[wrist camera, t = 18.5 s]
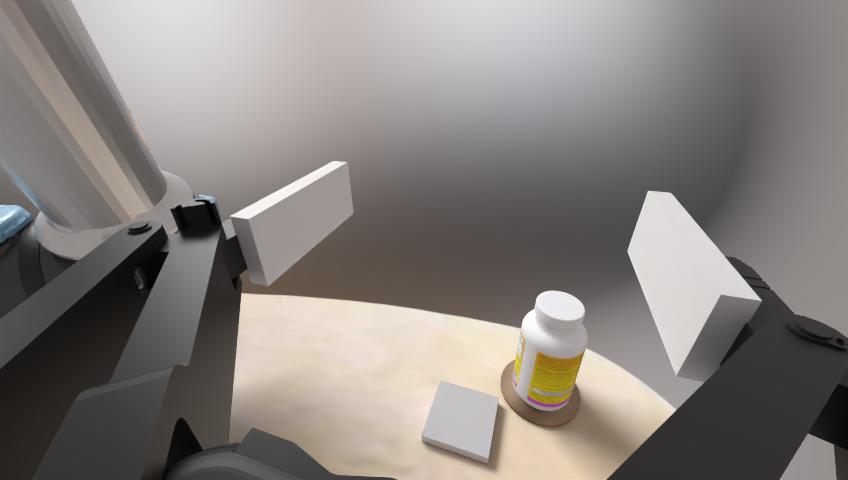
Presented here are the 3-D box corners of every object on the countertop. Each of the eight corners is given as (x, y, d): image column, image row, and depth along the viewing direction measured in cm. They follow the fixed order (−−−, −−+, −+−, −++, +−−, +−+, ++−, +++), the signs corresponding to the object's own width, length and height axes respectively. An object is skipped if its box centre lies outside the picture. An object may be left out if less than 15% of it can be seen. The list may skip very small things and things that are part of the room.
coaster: (496, 412, 38) (496, 409, 38) (504, 353, 46) (505, 350, 45) (581, 436, 36) (582, 433, 36) (575, 369, 43) (576, 366, 43)
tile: (421, 435, 35) (488, 458, 33) (440, 380, 41) (498, 397, 39) (421, 443, 36) (487, 466, 34) (440, 388, 42) (497, 405, 40)
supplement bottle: (582, 399, 39) (612, 315, 33) (537, 423, 37) (561, 337, 30) (541, 358, 44) (560, 278, 38) (500, 376, 42) (513, 295, 35)
